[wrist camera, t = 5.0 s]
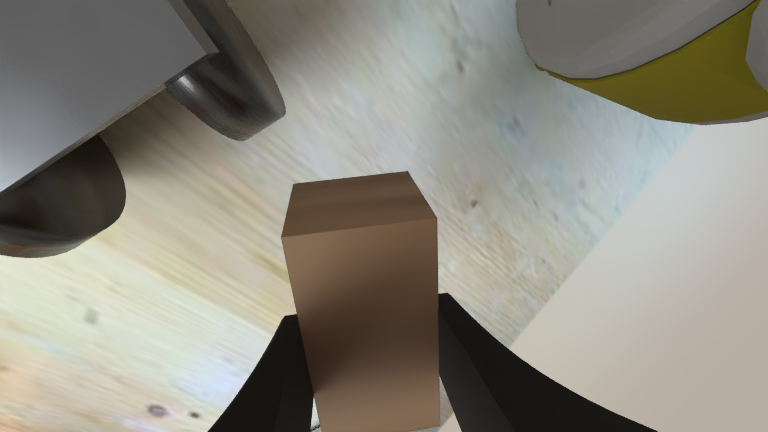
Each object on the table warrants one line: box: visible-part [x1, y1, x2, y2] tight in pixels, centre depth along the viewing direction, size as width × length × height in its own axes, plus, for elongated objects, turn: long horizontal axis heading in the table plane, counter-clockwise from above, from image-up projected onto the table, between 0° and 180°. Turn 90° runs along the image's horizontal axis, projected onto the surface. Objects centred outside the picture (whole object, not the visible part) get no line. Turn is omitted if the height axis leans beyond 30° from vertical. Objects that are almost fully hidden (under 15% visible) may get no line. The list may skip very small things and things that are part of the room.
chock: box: [281, 171, 440, 432], centre depth 13 cm, size 8×4×4 cm, turn 4°
